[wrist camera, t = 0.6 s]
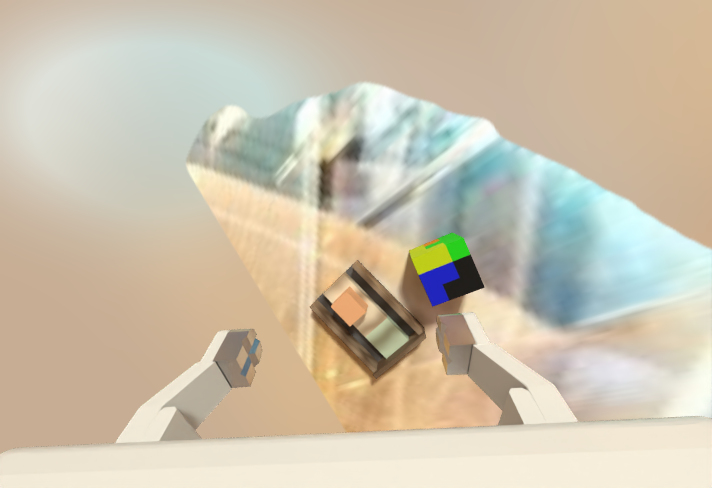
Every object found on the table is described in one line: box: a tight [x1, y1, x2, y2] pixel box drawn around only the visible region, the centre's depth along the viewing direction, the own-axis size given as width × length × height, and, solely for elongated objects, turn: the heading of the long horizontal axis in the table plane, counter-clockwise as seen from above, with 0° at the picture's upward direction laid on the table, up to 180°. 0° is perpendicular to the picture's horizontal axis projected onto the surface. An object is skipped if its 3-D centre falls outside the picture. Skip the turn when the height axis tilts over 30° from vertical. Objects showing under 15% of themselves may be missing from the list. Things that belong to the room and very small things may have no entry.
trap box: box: [310, 260, 426, 379], centre depth 60 cm, size 22×15×5 cm
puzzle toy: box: [409, 233, 484, 306], centre depth 54 cm, size 10×10×10 cm
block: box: [331, 287, 368, 326], centre depth 58 cm, size 6×5×4 cm
